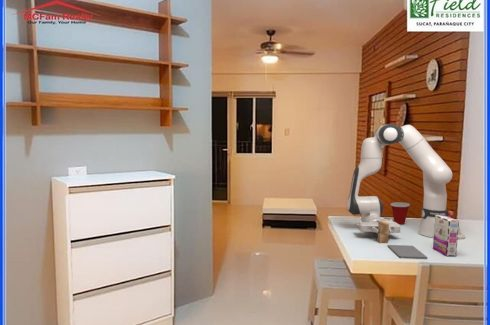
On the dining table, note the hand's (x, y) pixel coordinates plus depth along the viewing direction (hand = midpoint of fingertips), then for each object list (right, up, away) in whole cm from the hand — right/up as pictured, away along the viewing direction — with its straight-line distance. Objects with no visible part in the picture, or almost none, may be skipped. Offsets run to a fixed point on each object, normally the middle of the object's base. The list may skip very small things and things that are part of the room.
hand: (383, 231), depth 188 cm
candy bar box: (+23, -8, -12) cm, 27 cm away
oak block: (0, -5, +1) cm, 6 cm away
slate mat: (+5, -7, -14) cm, 16 cm away
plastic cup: (+23, -2, +39) cm, 46 cm away
